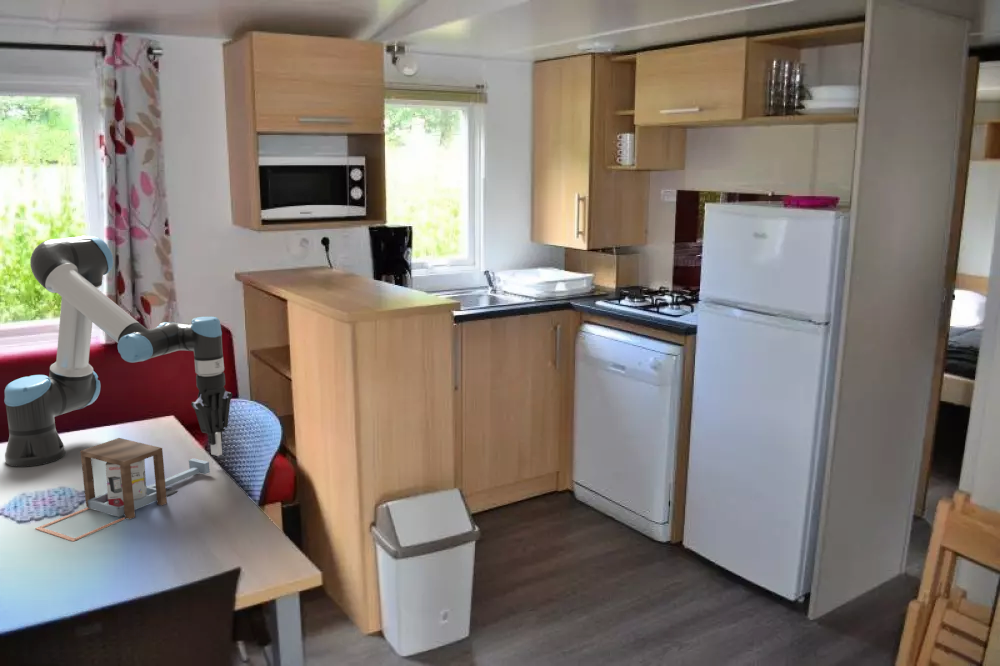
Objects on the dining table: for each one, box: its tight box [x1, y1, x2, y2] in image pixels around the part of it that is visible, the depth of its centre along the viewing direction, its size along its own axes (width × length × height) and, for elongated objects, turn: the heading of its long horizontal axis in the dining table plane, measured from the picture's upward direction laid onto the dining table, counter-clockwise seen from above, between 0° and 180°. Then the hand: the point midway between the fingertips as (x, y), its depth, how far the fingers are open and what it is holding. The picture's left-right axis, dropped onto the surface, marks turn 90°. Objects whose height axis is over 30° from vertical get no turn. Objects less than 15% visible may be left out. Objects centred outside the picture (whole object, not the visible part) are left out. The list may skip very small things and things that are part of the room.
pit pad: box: [166, 487, 178, 498], centre depth 214 cm, size 9×5×1 cm, turn 62°
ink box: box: [105, 459, 147, 507], centre depth 205 cm, size 9×5×12 cm, turn 107°
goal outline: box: [35, 507, 126, 542], centre depth 195 cm, size 14×14×1 cm
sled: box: [88, 457, 211, 518], centre depth 213 cm, size 11×31×3 cm, turn 152°
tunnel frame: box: [80, 437, 168, 520], centre depth 204 cm, size 16×11×15 cm
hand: (216, 454), depth 230 cm, fingers closed
